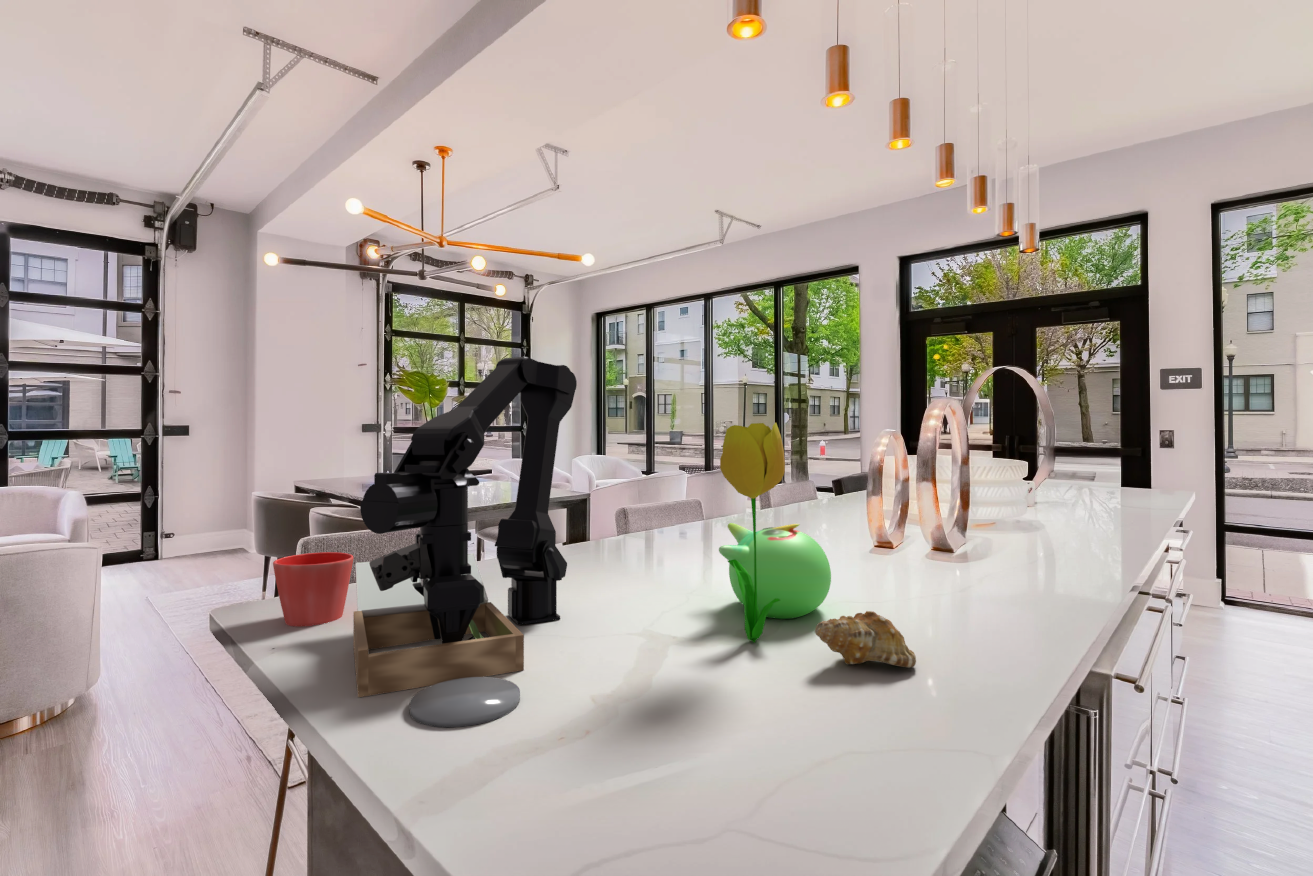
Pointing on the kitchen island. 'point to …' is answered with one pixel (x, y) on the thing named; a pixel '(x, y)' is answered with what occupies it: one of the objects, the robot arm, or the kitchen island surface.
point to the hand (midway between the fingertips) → (444, 648)
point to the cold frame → (431, 651)
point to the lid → (394, 593)
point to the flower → (752, 497)
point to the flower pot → (313, 586)
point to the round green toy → (781, 569)
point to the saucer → (464, 701)
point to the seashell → (866, 639)
